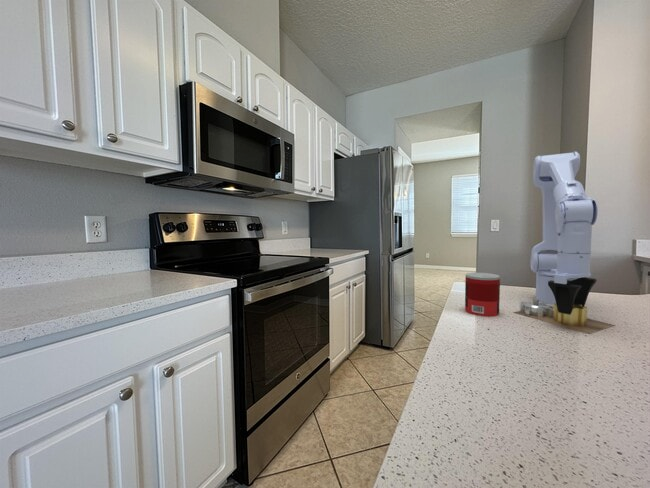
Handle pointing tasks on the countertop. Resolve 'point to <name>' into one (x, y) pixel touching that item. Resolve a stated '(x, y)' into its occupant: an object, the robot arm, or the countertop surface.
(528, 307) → the gear
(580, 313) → the brass gear
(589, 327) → the gear board
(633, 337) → the countertop surface
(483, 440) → the countertop surface
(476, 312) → the canned food
